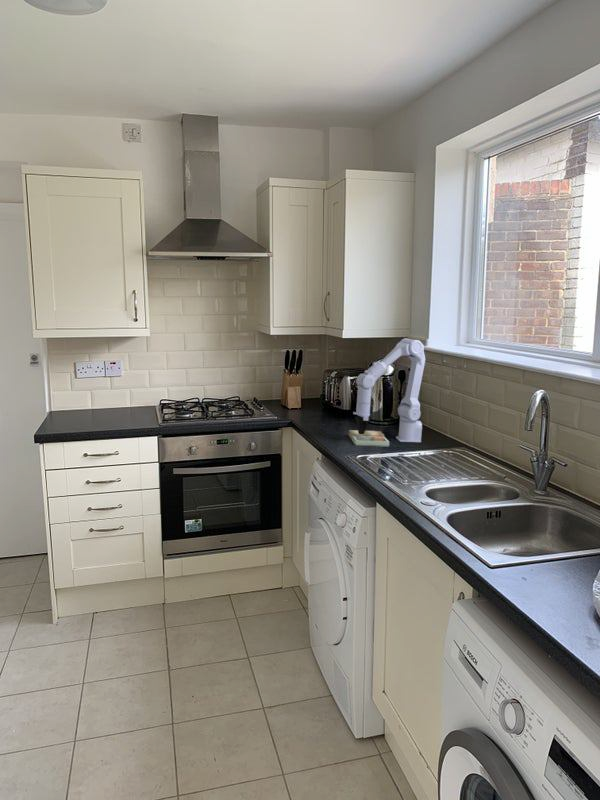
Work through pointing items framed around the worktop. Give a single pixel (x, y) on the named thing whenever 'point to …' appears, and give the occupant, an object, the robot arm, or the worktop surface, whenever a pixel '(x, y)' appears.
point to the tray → (370, 442)
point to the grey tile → (363, 438)
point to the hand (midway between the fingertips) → (361, 434)
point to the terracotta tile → (377, 438)
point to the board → (367, 433)
